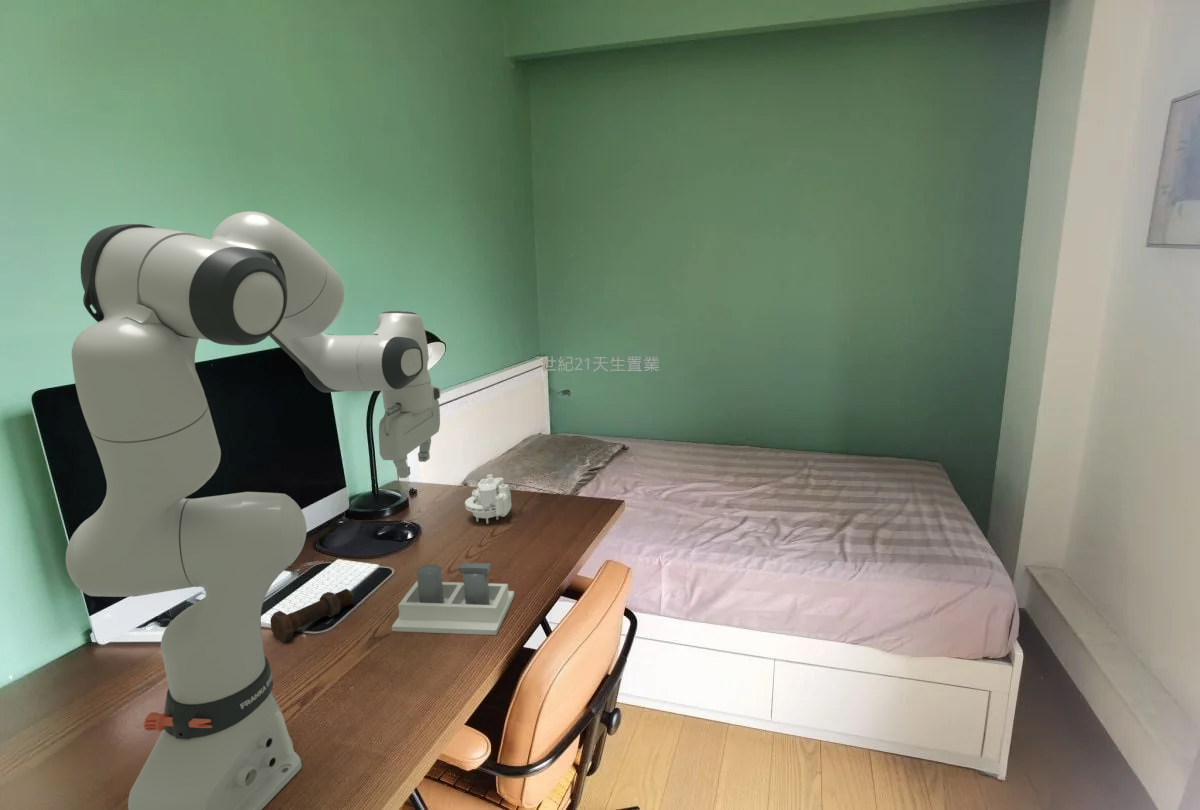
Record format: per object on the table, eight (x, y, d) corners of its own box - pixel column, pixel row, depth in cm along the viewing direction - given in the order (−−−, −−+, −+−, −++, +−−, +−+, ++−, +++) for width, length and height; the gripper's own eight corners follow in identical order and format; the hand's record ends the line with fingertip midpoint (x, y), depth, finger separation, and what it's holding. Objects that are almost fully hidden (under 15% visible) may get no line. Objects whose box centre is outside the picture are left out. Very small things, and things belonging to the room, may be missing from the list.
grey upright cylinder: (439, 614, 122) (436, 576, 120) (416, 613, 123) (412, 575, 121) (447, 601, 127) (444, 564, 125) (425, 600, 127) (421, 564, 125)
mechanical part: (474, 510, 175) (471, 469, 172) (516, 511, 173) (514, 470, 171) (460, 527, 164) (456, 484, 161) (504, 529, 162) (502, 485, 160)
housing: (496, 635, 117) (492, 584, 114) (392, 631, 119) (386, 581, 116) (514, 595, 130) (511, 549, 128) (420, 592, 132) (415, 547, 130)
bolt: (354, 613, 129) (281, 648, 117) (340, 596, 131) (267, 629, 119) (360, 594, 126) (287, 628, 114) (346, 577, 128) (273, 608, 116)
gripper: (400, 411, 108) (408, 487, 111) (443, 387, 128) (448, 452, 131) (365, 411, 109) (374, 487, 112) (413, 387, 129) (419, 452, 132)
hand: (414, 468), depth 122 cm, fingers open, 8 cm apart
